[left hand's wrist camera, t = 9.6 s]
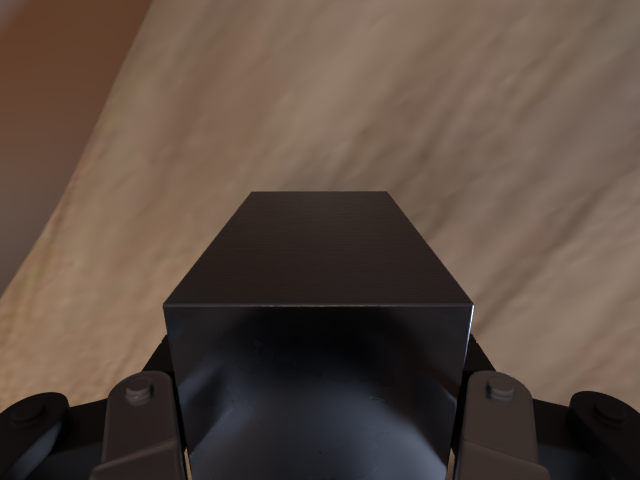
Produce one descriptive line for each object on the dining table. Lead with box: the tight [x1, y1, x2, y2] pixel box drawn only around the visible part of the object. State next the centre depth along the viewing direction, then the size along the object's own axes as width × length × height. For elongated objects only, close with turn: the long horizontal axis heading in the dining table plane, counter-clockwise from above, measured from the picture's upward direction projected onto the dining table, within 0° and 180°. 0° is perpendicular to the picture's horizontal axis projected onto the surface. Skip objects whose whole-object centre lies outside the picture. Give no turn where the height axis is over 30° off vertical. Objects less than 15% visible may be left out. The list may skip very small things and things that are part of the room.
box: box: [163, 191, 474, 480], centre depth 15 cm, size 22×6×10 cm, turn 0°
